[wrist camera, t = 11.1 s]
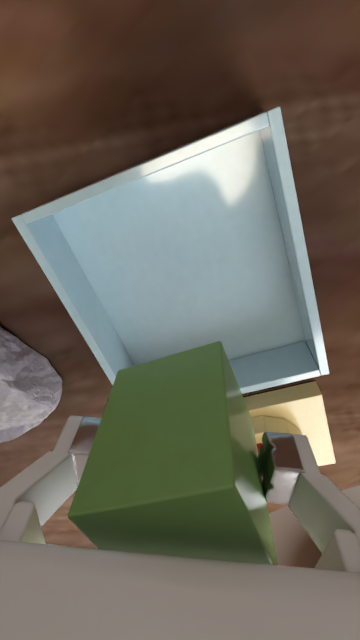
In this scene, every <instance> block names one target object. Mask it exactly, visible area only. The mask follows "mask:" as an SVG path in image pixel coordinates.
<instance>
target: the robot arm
mask: <svg viewBox="0 0 360 640" xmlns="http://www.w3.org/2000/svg"><path fill="white" fill-rule="evenodd" d="M100 421H101V418H93V417H83V416H73V415H71V416H70V417H69V418H68V419H67V421H66V424H65V426H64V428H63V430H62V432H61V434H60V436H59V439H58V441H57V443H56V445H55V447H54V449H53V451H52V452H51V451H48V452H47V453H46V454H44V455H43V456H42V457H40V458H39V459H38V460H36V461H35V462H34V463H32V464H31V465H30V466H28V467H27V468H26V469H24V470H23V471H22V472H20V473H19V474H18V475H16V476H15V477H14V478H12V479H11V480H10V481H8V482H7V483H6V484H4V485H3V486H2V487H0V640H360V508H359V507H357V506H356V505H355V504H354V503H353V502H352V501H351V500H350V499H349V498H348V497H347V496H346V495H345V494H344V493H343V492H342V491H341V490H340V489H339V488H338V487H337V486H336V485H335V484H334V483H333V482H332V481H331V480H330V479H329V478H328V477H327V476H326V475H321V473H320V471H319V468H318V465H317V462H316V460H315V457H314V454H313V451H312V448H311V446H310V443H309V440H308V437H307V436H306V435H300V434H290V433H276V432H264V433H263V436H262V443H263V445H261V446H260V447H259V451H258V462H259V467H260V472H261V475H262V477H263V480H262V485H263V490H264V496H265V500H266V502H267V503H276V504H284V505H288V507H289V508H290V509H291V511H292V512H293V514H294V515H295V516H296V518H297V519H298V520H299V522H300V523H301V525H302V526H303V527H304V529H305V530H306V532H307V533H308V534H309V536H310V537H311V538H312V540H313V541H314V543H315V544H316V546H317V547H318V548H319V550H320V551H321V552H322V556H321V557H320V559H319V561H318V563H317V565H316V566H315V568H304V567H293V566H282V565H271V564H260V563H249V562H239V561H228V560H217V559H206V558H195V557H184V556H172V555H161V554H150V553H139V552H128V551H117V550H106V549H95V548H84V547H73V546H62V545H51V544H46V543H45V539H44V536H43V532H42V529H41V526H42V525H43V524H44V523H45V522H46V521H47V520H48V519H49V518H50V517H51V516H52V515H53V514H54V513H55V512H56V510H57V509H58V508H59V507H60V506H61V505H62V504H63V503H64V502H65V501H66V500H67V499H68V498H69V497H70V496H71V495H72V493H73V492H74V491H75V490H76V489H77V487H78V485H79V482H80V479H81V476H82V473H83V470H84V467H85V465H86V462H87V459H88V456H89V453H90V450H91V447H92V444H93V441H94V439H95V436H96V433H97V430H98V427H99V424H100Z"/></svg>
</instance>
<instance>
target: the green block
mask: <svg viewBox="0 0 360 640" xmlns="http://www.w3.org/2000/svg"><path fill="white" fill-rule="evenodd" d="M262 480H263V479H262V475H261V472H260V467H259V462H258V450H257V445H256V439H255V433H254V428H253V422H252V418H251V415H250V413H249V410H248V408H247V405H246V403H245V400H244V398H243V395H242V393H241V390H240V388H239V385H238V383H237V380H236V378H235V375H234V373H233V370H232V368H231V365H230V363H229V360H228V358H227V355H226V353H225V350H224V347H223V345H222V342H221V341H217V342H214V343H210V344H207V345H204V346H200V347H197V348H193V349H190V350H186V351H183V352H180V353H176V354H173V355H169V356H166V357H162V358H159V359H156V360H152V361H149V362H145V363H142V364H138V365H135V366H132V367H128V368H125V369H121V370H119V371H118V372H117V375H116V378H115V381H114V384H113V387H112V389H111V392H110V395H109V398H108V401H107V404H106V407H105V410H104V413H103V415H102V418H101V421H100V424H99V427H98V430H97V433H96V436H95V439H94V441H93V444H92V447H91V450H90V453H89V456H88V459H87V462H86V465H85V467H84V470H83V473H82V476H81V479H80V482H79V485H78V488H77V491H76V493H75V496H74V499H73V502H72V505H71V508H70V511H69V514H68V518H69V519H70V520H71V521H72V522H73V523H74V524H75V525H76V526H77V527H78V528H79V529H80V530H81V531H82V532H83V533H84V534H85V535H86V537H87V538H88V539H89V540H90V541H91V542H92V543H93V544H94V545H95V546H96V547H97V548H98V549H106V550H117V551H128V552H139V553H150V554H161V555H172V556H184V557H195V558H206V559H217V560H228V561H239V562H249V563H260V564H271V565H278V563H277V558H276V552H275V546H274V541H273V535H272V529H271V524H270V518H269V512H268V507H267V502H266V500H265V496H264V490H263V485H262Z"/></svg>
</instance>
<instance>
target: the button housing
mask: <svg viewBox="0 0 360 640" xmlns="http://www.w3.org/2000/svg"><path fill="white" fill-rule="evenodd" d="M244 400H245V403H246V405H247V408H248V410H249V413H250V415H251V418H252V422H253V428H254V433H255V439H256V444H259V443H262V436H263V433H264V432H276V433H290V434H300V435H306V436H307V437H308V440H309V443H310V446H311V448H312V451H313V454H314V457H315V460H316V462H317V465H318V466H322V465H328V464H333V463H336V461H335V456H334V451H333V447H332V442H331V437H330V432H329V427H328V423H327V418H326V413H325V408H324V403H323V399H322V394H321V392H320V390H319V388H318V386H317V383H316V381H313V382H309V383H305V384H300V385H296V386H291V387H287V388H283V389H278V390H274V391H270V392H265V393H261V394H257V395H252V396H248V397H244Z"/></svg>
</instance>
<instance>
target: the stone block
mask: <svg viewBox="0 0 360 640" xmlns="http://www.w3.org/2000/svg"><path fill="white" fill-rule="evenodd" d="M61 392H62V379H61V377H60V376H59V375H58V374H57V372H56V371H55V369H54V368H53V367H52V366H51V364H50V363H49V361H48V359H47V358H45V357H44V356H43V355H41V354H39V353H37V352H36V351H34V350H33V349H32V348H30V347H28V346H27V345H25V344H24V343H23V342H21V341H20V340H19V339H18V338H17V337H16V336H14V335H12V334H11V333H9V332H8V331H6V330H4V329H3V328H2V327H1V326H0V443H1V442H5V441H10V440H12V439H14V438H16V437H19V436H21V435H22V434H24V433H25V432H27V431H29V430H30V428H33V427H35V426H38V425H39V424H40V423H41V422H42V421H43V420H44V418H47V417H48V415H49V414H50V413H51V412H52V411H54V410H55V409H56V407H57V405H58V403H59V401H60V399H61V394H62V393H61Z"/></svg>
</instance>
